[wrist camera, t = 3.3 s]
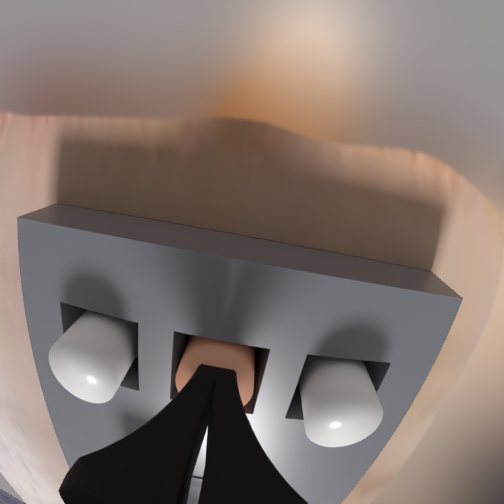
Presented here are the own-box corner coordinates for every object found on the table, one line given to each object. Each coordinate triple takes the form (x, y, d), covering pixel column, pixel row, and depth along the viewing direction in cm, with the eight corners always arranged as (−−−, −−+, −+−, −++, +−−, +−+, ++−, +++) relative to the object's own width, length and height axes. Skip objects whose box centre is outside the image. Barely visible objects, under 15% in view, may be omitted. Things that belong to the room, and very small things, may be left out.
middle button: (189, 358, 15) (173, 404, 12) (195, 305, 14) (177, 347, 11) (249, 369, 15) (246, 418, 12) (261, 317, 14) (260, 363, 11)
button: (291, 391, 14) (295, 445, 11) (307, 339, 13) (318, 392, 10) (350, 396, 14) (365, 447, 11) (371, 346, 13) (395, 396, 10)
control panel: (86, 445, 19) (71, 474, 16) (56, 203, 13) (15, 217, 10) (322, 489, 19) (325, 521, 16) (431, 271, 14) (464, 299, 11)
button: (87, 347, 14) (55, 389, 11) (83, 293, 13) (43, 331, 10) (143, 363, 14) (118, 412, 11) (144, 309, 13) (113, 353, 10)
